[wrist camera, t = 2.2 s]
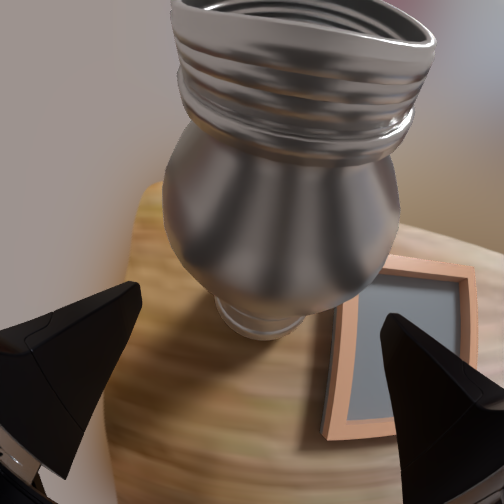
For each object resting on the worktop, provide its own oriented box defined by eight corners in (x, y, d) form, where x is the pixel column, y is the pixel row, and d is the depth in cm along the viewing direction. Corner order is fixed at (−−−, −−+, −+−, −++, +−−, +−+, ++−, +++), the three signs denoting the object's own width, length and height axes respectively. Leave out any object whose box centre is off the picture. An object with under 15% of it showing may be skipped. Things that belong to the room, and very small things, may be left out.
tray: (455, 414, 16) (470, 417, 14) (319, 432, 17) (326, 440, 15) (460, 274, 21) (474, 266, 19) (336, 258, 22) (344, 248, 20)
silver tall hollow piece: (242, 247, 22) (220, -34, 4) (317, 283, 21) (481, 43, 3) (203, 316, 20) (-12, 95, 2) (282, 356, 19) (572, 343, 1)
